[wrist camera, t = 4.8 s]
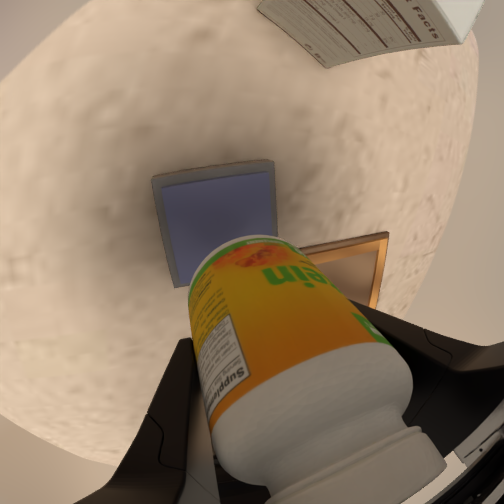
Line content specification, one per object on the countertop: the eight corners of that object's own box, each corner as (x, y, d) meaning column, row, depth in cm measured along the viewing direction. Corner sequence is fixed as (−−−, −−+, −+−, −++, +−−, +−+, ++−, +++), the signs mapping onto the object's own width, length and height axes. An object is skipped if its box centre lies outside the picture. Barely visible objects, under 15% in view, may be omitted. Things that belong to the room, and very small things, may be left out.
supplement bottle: (329, 255, 12) (496, 419, 3) (274, 346, 13) (363, 516, 5) (217, 210, 10) (394, 520, 1) (170, 325, 11) (210, 562, 3)
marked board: (371, 318, 29) (374, 321, 29) (285, 346, 27) (287, 351, 26) (386, 231, 24) (391, 233, 24) (284, 251, 22) (287, 255, 21)
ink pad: (272, 259, 22) (281, 271, 20) (173, 278, 20) (174, 292, 19) (267, 159, 19) (277, 162, 17) (152, 176, 17) (150, 180, 15)
